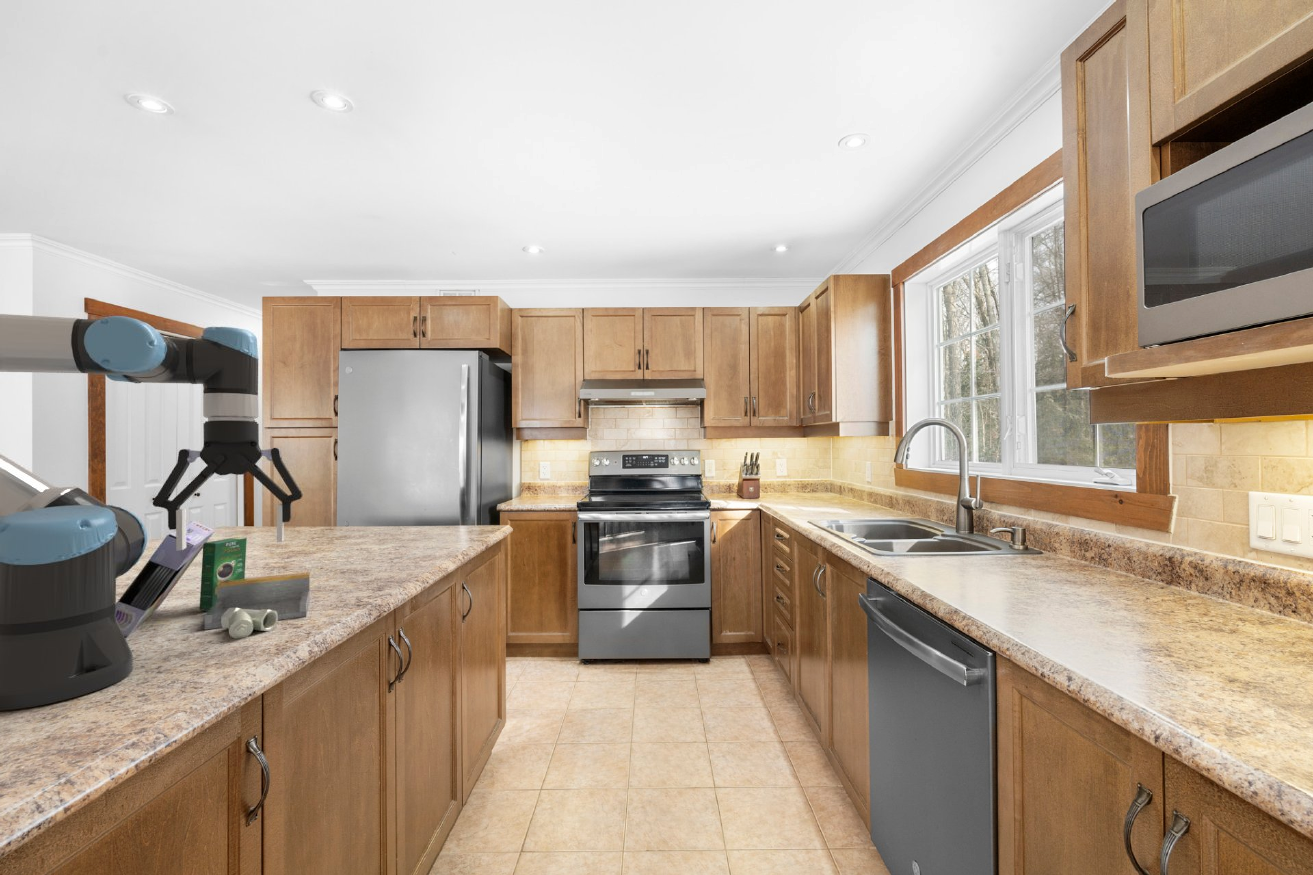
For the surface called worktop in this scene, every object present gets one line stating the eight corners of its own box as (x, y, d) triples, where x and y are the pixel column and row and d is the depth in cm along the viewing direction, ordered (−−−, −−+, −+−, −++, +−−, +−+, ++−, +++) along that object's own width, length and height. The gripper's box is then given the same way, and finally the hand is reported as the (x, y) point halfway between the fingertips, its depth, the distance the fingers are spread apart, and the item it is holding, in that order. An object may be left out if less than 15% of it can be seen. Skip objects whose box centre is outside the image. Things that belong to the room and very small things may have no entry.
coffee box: (232, 599, 118) (235, 535, 118) (245, 599, 118) (248, 536, 118) (198, 610, 110) (200, 542, 110) (211, 611, 110) (214, 543, 110)
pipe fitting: (244, 644, 93) (278, 627, 100) (242, 621, 93) (277, 606, 100) (203, 641, 95) (239, 625, 101) (201, 618, 94) (237, 604, 101)
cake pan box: (128, 640, 94) (195, 543, 99) (93, 630, 92) (163, 530, 97) (160, 611, 111) (216, 529, 116) (131, 601, 109) (189, 518, 113)
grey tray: (306, 616, 106) (305, 586, 106) (204, 629, 99) (204, 597, 99) (310, 599, 118) (310, 572, 118) (219, 610, 110) (219, 581, 111)
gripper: (317, 421, 106) (318, 535, 106) (142, 420, 94) (143, 548, 94) (315, 419, 99) (317, 541, 99) (127, 418, 88) (128, 556, 87)
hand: (232, 545), depth 97 cm, fingers open, 13 cm apart
